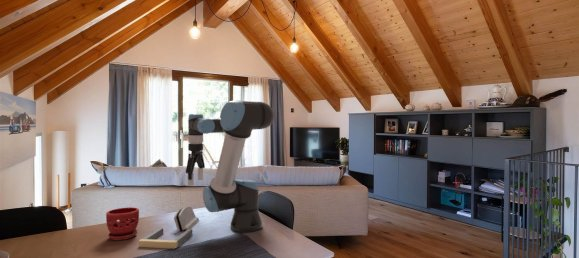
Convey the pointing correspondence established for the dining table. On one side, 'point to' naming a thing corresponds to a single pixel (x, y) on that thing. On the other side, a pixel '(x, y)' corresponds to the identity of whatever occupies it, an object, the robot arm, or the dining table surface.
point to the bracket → (150, 241)
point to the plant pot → (122, 223)
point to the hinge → (185, 219)
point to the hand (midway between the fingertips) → (195, 182)
